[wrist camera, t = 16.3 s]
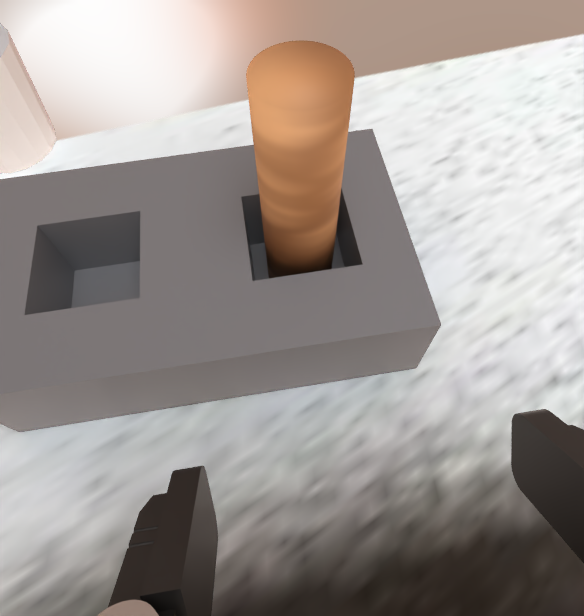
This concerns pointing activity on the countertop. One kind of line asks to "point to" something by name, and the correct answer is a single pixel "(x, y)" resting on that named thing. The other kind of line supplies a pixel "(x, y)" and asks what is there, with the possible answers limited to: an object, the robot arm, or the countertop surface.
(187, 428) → the countertop surface
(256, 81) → the peg
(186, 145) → the countertop surface
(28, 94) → the shot glass
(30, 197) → the hole block
